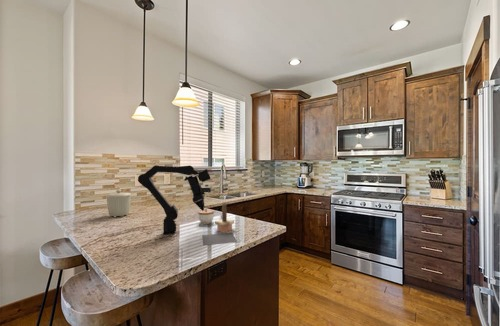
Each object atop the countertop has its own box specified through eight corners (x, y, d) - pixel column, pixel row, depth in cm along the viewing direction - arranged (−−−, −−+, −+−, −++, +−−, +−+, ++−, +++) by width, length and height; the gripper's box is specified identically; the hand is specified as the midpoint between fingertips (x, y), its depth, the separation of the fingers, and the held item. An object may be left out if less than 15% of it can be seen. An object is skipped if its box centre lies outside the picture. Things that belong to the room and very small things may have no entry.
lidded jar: (210, 225, 144) (210, 210, 144) (195, 224, 146) (195, 210, 146) (216, 221, 155) (216, 207, 155) (202, 220, 157) (201, 207, 157)
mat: (203, 246, 107) (203, 245, 107) (202, 235, 122) (202, 235, 122) (237, 242, 111) (237, 242, 111) (232, 233, 126) (232, 232, 126)
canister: (133, 216, 172) (133, 189, 172) (105, 219, 162) (105, 191, 162) (130, 212, 187) (130, 187, 187) (105, 215, 177) (105, 189, 177)
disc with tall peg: (221, 226, 124) (221, 205, 124) (211, 222, 133) (210, 202, 133) (237, 222, 132) (237, 202, 132) (227, 219, 141) (226, 200, 141)
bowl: (218, 232, 127) (218, 225, 127) (217, 228, 135) (216, 221, 136) (232, 231, 129) (232, 224, 129) (230, 227, 138) (230, 220, 138)
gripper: (207, 181, 126) (216, 207, 127) (207, 179, 144) (215, 201, 145) (188, 188, 124) (197, 214, 125) (191, 185, 142) (199, 207, 143)
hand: (203, 208), depth 134 cm, fingers open, 9 cm apart
